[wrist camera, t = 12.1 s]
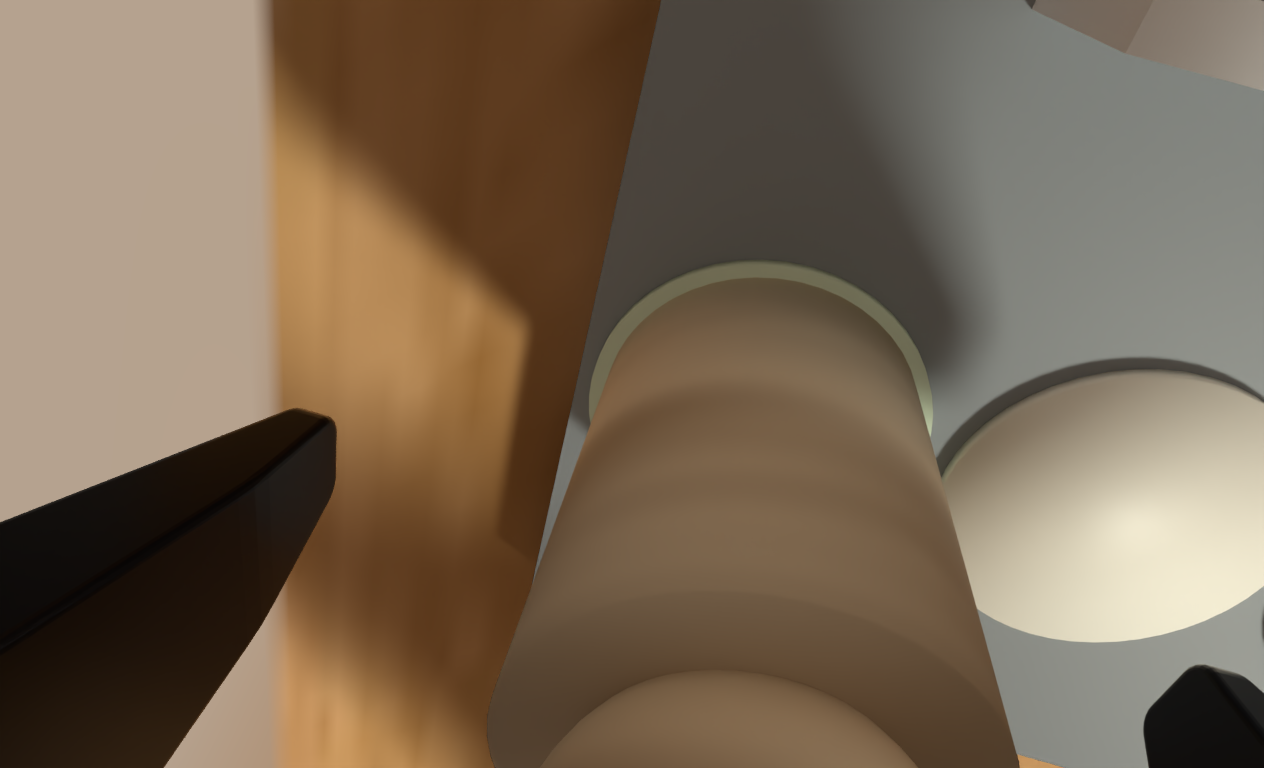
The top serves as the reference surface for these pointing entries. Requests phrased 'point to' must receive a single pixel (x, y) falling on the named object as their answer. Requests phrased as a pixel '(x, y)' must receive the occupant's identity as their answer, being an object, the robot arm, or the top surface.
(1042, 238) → the game board
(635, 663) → the pawn
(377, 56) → the top surface
